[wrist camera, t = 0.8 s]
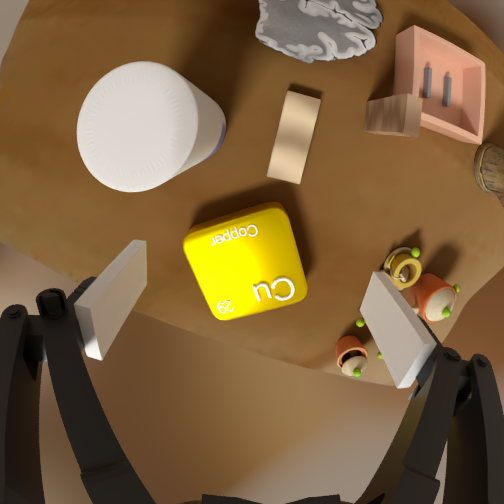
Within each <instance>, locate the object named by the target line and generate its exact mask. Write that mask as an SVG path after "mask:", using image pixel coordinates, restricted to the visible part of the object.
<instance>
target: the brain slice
mask: <svg viewBox="0 0 504 504" xmlns="http://www.w3.org/2000/svg"><path fill="white" fill-rule="evenodd" d="M258 1H259V10H260V18H259V21H258V23H257V25H256V31H255V34H256V37H257V39H258V40H259V41H260V42H261V43H263V44H265V45H267V46H268V47H270V48H271V49H274V50H276V51H278V52H282V53H284V54H286V55H288V56H291V57H293V58H295V59H297V60H302V61H304V62H306V63H313V62H314V61H315V60H316V61H333V60H336V59H349V58H352V57H354V56H361V55H364V54H365V53H367V51H368V50H371V49H373V48H374V47H375V46H376V43H377V40H376V37H375V35H374V33H373V32H372V31H371V30H369V29H378V28H379V27H380V26H381V22H383V15H382V12H381V11H380V10H379V9H378V8H377V2H376V0H258ZM368 28H369V29H368Z"/></svg>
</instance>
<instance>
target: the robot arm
mask: <svg viewBox="0 0 504 504" xmlns="http://www.w3.org/2000/svg"><path fill="white" fill-rule="evenodd" d="M146 285H147V264H146V241H140V240H133V241H132V242H131V243H130V244H129V245H128V246H127V247H126V248H125V249H124V250H123V251H122V252H121V253H120V254H119V255H118V256H117V257H116V258H115V259H114V260H113V261H112V263H111V264H110V265H109V266H108V267H107V268H106V269H105V270H104V271H103V272H102V273H101V274H100V275H99V276H98V277H93V276H92V277H90V278H88V279H86V280H84V281H83V282H82V283H81V284H80V285H79V286H78V288H76V289H75V290H74V292H72V294H71V295H70V296H69V297H68V298H67V299H66V296H65V293H64V291H62V290H61V289H56V288H52V289H47V290H44V291H42V292H40V293H39V294H38V296H37V297H36V303H37V307H38V310H39V314H40V315H28V312H27V309H26V308H25V306H23V305H19V304H16V305H11V306H9V307H7V308H6V309H5V310H4V311H3V313H2V315H1V318H0V504H45V498H44V491H43V484H42V475H41V465H40V448H39V399H40V385H41V373H42V363H43V362H48V367H49V371H50V376H51V380H52V385H53V389H54V393H55V397H56V400H57V404H58V407H59V411H60V414H61V417H62V420H63V424H64V427H65V429H66V432H67V435H68V438H69V441H70V444H71V446H72V449H73V452H74V454H75V457H76V459H77V462H78V464H79V467H80V469H81V474H80V475H81V479H82V482H83V484H84V486H85V488H86V490H87V493H88V495H89V497H90V499H91V501H92V503H93V504H156V503H155V501H154V500H153V499H152V497H151V496H150V494H149V493H148V491H147V490H146V488H145V487H144V485H143V484H142V482H141V480H140V479H139V477H138V475H137V474H136V472H135V470H134V469H133V467H132V465H131V464H130V462H129V461H128V459H127V457H126V455H125V454H124V452H123V450H122V448H121V446H120V444H119V442H118V440H117V438H116V437H115V434H114V433H113V431H112V429H111V426H110V424H109V422H108V420H107V418H106V416H105V413H104V411H103V409H102V407H101V404H100V402H99V400H98V398H97V395H96V392H95V390H94V387H93V385H92V382H91V380H90V377H89V375H88V372H87V369H86V366H85V363H84V360H83V357H82V354H81V351H82V349H83V348H84V347H85V350H86V353H87V356H89V357H92V358H96V359H99V360H102V359H103V358H104V356H105V354H106V352H107V351H108V349H109V347H110V345H111V344H112V342H113V340H114V338H115V337H116V335H117V333H118V331H119V330H120V328H121V326H122V324H123V323H124V321H125V319H126V318H127V316H128V314H129V313H130V311H131V309H132V308H133V306H134V304H135V303H136V301H137V300H138V298H139V296H140V295H141V293H142V291H143V290H144V288H145V287H146ZM360 312H361V314H362V316H363V318H364V320H365V322H366V324H367V326H368V328H369V330H370V332H371V334H372V336H373V338H374V340H375V342H376V344H377V346H378V348H379V350H380V352H381V354H382V356H383V359H384V361H385V363H386V365H387V367H388V369H389V371H390V374H391V376H392V378H393V380H394V382H395V385H396V387H397V388H406V387H410V386H411V384H412V383H413V381H414V380H415V378H416V379H417V382H418V385H417V387H416V388H415V390H414V391H413V392H412V394H411V395H410V396H409V398H408V400H410V399H411V400H410V403H409V405H408V408H407V410H406V413H405V415H404V417H403V419H402V422H401V424H400V426H399V428H398V431H397V433H396V435H395V437H394V439H393V441H392V443H391V445H390V447H389V449H388V451H387V453H386V455H385V457H384V459H383V461H382V462H381V464H380V466H379V468H378V470H377V471H376V473H375V475H374V477H373V478H372V480H371V482H370V483H369V485H368V487H367V488H366V490H365V491H364V493H363V494H362V496H361V497H360V498H359V499H358V500H357V501H356V502H355V503H354V504H433V503H434V501H435V498H436V496H437V493H438V491H439V487H440V481H439V480H437V479H435V476H436V473H437V470H438V467H439V464H440V461H441V458H442V454H443V451H444V448H445V444H446V441H447V465H446V477H445V487H444V496H443V504H504V415H503V410H502V405H501V401H500V396H499V392H498V387H497V384H496V380H495V376H494V372H493V369H492V366H491V363H490V361H489V360H488V359H487V357H485V356H484V355H481V354H474V355H473V357H472V358H471V360H470V361H465V360H461V357H460V355H459V354H458V353H457V352H456V351H455V350H453V349H452V348H449V347H443V346H442V344H441V343H440V341H439V340H438V339H437V337H436V336H435V334H434V333H432V330H431V329H430V328H429V326H428V325H427V323H426V322H425V321H424V320H423V319H422V318H421V317H419V316H418V315H416V314H415V312H414V311H413V310H412V308H411V307H410V305H409V304H408V303H407V301H406V300H405V299H404V298H403V296H402V295H401V294H400V292H399V291H398V290H397V288H396V287H395V286H394V285H393V283H392V282H391V281H390V280H389V278H388V277H387V276H386V274H385V273H382V272H374V271H373V274H372V277H371V280H370V283H369V286H368V288H367V291H366V294H365V297H364V299H363V302H362V305H361V307H360ZM470 397H471V398H470ZM179 504H261V503H257V502H252V501H249V500H244V499H241V498H236V497H225V496H214V495H206V494H202V500H193V501H188V502H183V503H179ZM286 504H353V503H349V502H344V501H340V495H339V494H338V495H329V496H321V497H308V498H305V499H302V500H298V501H294V502H290V503H286Z"/></svg>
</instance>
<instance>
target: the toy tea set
mask: <svg viewBox="0 0 504 504" xmlns="http://www.w3.org/2000/svg"><path fill="white" fill-rule="evenodd" d="M419 255H420V250H419V249H418V248H413V249H410V248H407V247H402V248H398V249H396V250H394V251H393V252H392V253H391V254H390V255H389V256H388V257H387V259H386V261H385V264H384V271H383V270H381V271H380V272H382V273H385V274H386V276H387V277H388V278H389V280H390V281H391V282H392V283H393V285H394V286H395V287H396V288H397V290H402V289H403V288H405V287H409V286H411V285H413V286H412V296H413V298H414V300H415V302H416V304H415V305H414V306H413V307H412V310H413V311H414V312H415V314H417V313H418V312H419V311H420V313H421V315H422V317H423V318H424V319H425V320H426V321H427V322H431V323H432V322H438V321H440V320H442V319H443V318H445V317H448V316H450V314H451V310H452V309H453V307H454V305H455V302H456V293H457V292H459V290H460V286H459V285H457V284H455V285H454V286H453V287H452V286H451V285H449V284H448V283H446V282H444V281H443V280H441V279H440V278H438V277H437V276H435V275H433V274H431V273H425V274H423V275H421V276H420V274H421V269H422V268H421V264H420V262H419V261H418V260H417V257H418V256H419ZM419 276H420V277H419ZM365 323H366V322H365V320H364V319H363V318H359V319H358V320H357V321H356V324H357V326H359V327H362V326H363V325H364V324H365ZM366 325H367V324H366ZM367 327H368V326H367ZM367 356H368V354H367V351H366V350H365V348H364V347H363V346H362V344H361V343H360V341H359V340H358V339H357V338H356V337H355V336H352V335H349V336H345V337H343V338H341V339H340V340H339V341H338V342H337V344H336V357H337V365H338V366H339V367H340V368H341V369H342V372H343V373H344V374H346V375H350V376H353V375H354V376H356V377H357V376H360V374H361V372H362V371H363V370H364V369H365V368H366V367H367V364H368V361H367ZM378 358H380V359H382V358H383V356H382V354H381V352H379V353H378Z"/></svg>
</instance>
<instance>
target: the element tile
mask: <svg viewBox="0 0 504 504" xmlns="http://www.w3.org/2000/svg"><path fill="white" fill-rule="evenodd" d="M183 250H184V253H185V255H186V258H187V260H188V262H189V264H190V267H191V269H192V271H193V273H194V276H195V278H196V280H197V282H198V284H199V287H200V289H201V291H202V293H203V295H204V297H205V300H206V302H207V304H208V306H209V308H210V310H211V312H212V314H213V315H214V316H215V317H216V318H217V319H220V320H232V319H236V318H240V317H244V316H248V315H252V314H256V313H260V312H264V311H268V310H271V309H275V308H279V307H282V306H286V305H290V304H293V303H297V302H299V301H301V300H302V299H304V298H305V296H306V295H307V291H308V286H307V283H306V279H305V275H304V271H303V267H302V264H301V260H300V256H299V253H298V249H297V246H296V242H295V238H294V235H293V231H292V228H291V224H290V221H289V218H288V215H287V213H286V211H285V209H284V207H283V206H282V205H281V204H279V203H277V202H266V203H262V204H259V205H256V206H253V207H249V208H246V209H243V210H240V211H237V212H233V213H230V214H227V215H224V216H221V217H218V218H215V219H212V220H208V221H205V222H202V223H199V224H197V225H195V226H193V227H192V228H191V229H190V230H189V232H188V233H187V235H186V236H185V238H184V240H183Z"/></svg>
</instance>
